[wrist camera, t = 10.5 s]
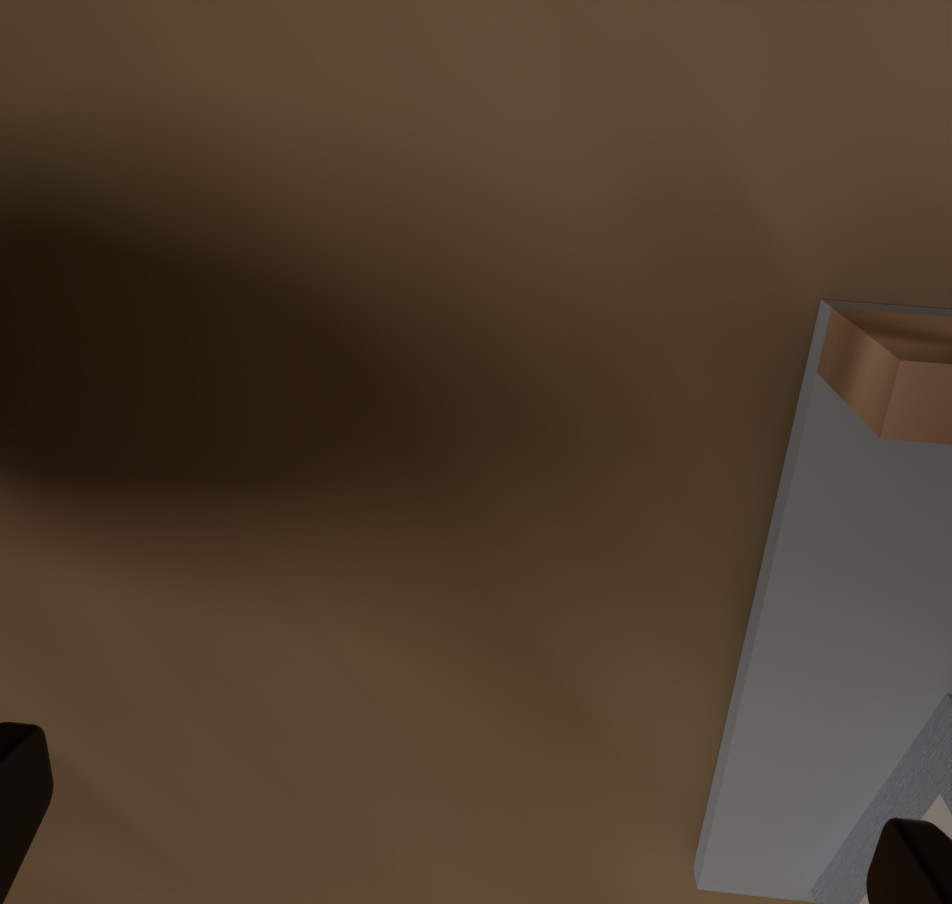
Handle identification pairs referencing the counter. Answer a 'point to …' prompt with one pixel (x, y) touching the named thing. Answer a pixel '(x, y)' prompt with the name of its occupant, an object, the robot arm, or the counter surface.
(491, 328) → the counter surface
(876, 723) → the mat
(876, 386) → the walls
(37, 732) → the robot arm
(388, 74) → the counter surface
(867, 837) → the bracket
